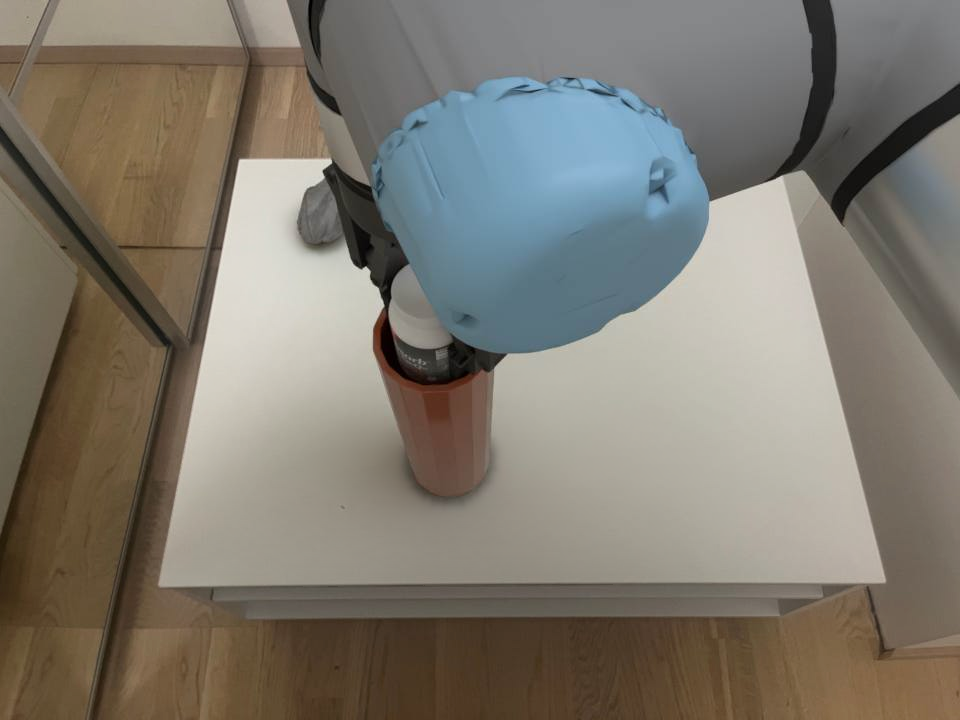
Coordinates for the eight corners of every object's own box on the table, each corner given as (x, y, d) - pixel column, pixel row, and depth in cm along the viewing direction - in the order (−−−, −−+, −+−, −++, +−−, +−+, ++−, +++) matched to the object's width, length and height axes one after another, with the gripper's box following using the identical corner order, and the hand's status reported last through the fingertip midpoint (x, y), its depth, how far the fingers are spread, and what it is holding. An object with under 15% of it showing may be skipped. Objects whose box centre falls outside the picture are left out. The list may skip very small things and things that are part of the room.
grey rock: (306, 190, 96) (292, 151, 89) (369, 191, 96) (360, 152, 89) (295, 255, 91) (280, 219, 84) (361, 256, 91) (351, 220, 84)
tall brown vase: (504, 456, 79) (520, 331, 50) (451, 513, 76) (435, 417, 47) (448, 407, 82) (432, 262, 53) (395, 461, 79) (347, 339, 50)
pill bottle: (383, 351, 53) (364, 284, 44) (438, 310, 54) (431, 237, 45) (430, 402, 51) (420, 342, 42) (485, 357, 52) (487, 291, 43)
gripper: (615, 195, 30) (559, 392, 51) (331, 5, 35) (386, 255, 56) (505, 302, 27) (494, 463, 48) (219, 81, 33) (320, 312, 54)
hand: (436, 351), depth 52 cm, fingers closed on pill bottle, 6 cm apart
